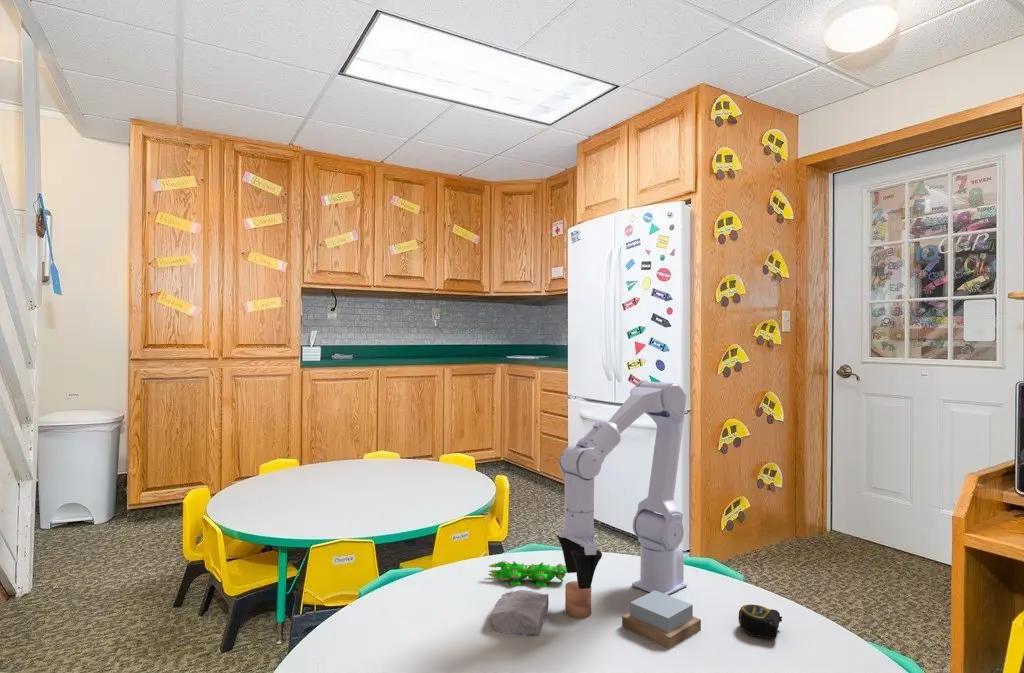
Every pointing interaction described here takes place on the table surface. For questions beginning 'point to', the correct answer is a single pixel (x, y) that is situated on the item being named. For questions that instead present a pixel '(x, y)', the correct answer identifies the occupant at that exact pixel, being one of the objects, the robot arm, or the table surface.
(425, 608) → the table surface
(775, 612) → the tape measure
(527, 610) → the stone block
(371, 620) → the table surface
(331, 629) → the table surface
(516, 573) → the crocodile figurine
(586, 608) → the brown cylinder
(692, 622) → the tower base
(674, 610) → the tower top
